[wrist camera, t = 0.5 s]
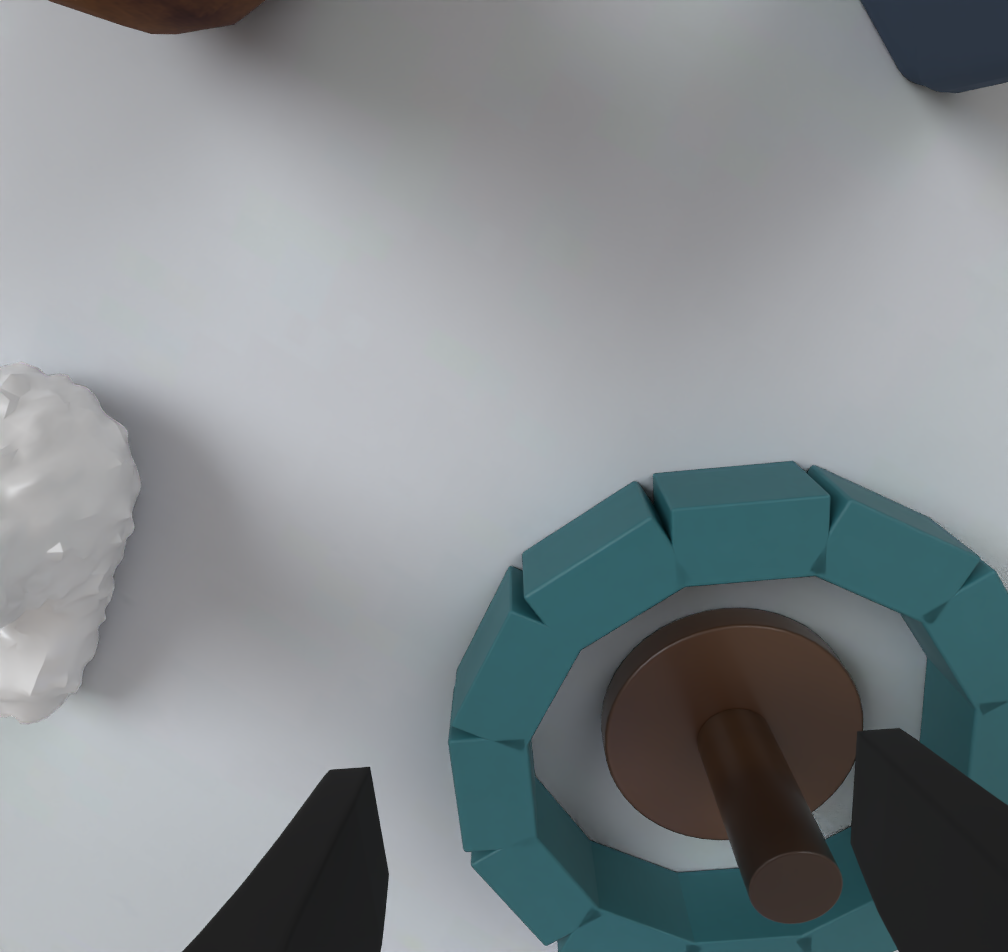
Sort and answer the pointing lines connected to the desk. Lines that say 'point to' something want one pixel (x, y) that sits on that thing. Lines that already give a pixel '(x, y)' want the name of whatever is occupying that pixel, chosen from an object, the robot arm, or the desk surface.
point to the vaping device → (945, 41)
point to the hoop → (641, 585)
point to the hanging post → (739, 746)
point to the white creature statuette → (56, 534)
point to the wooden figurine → (166, 13)
